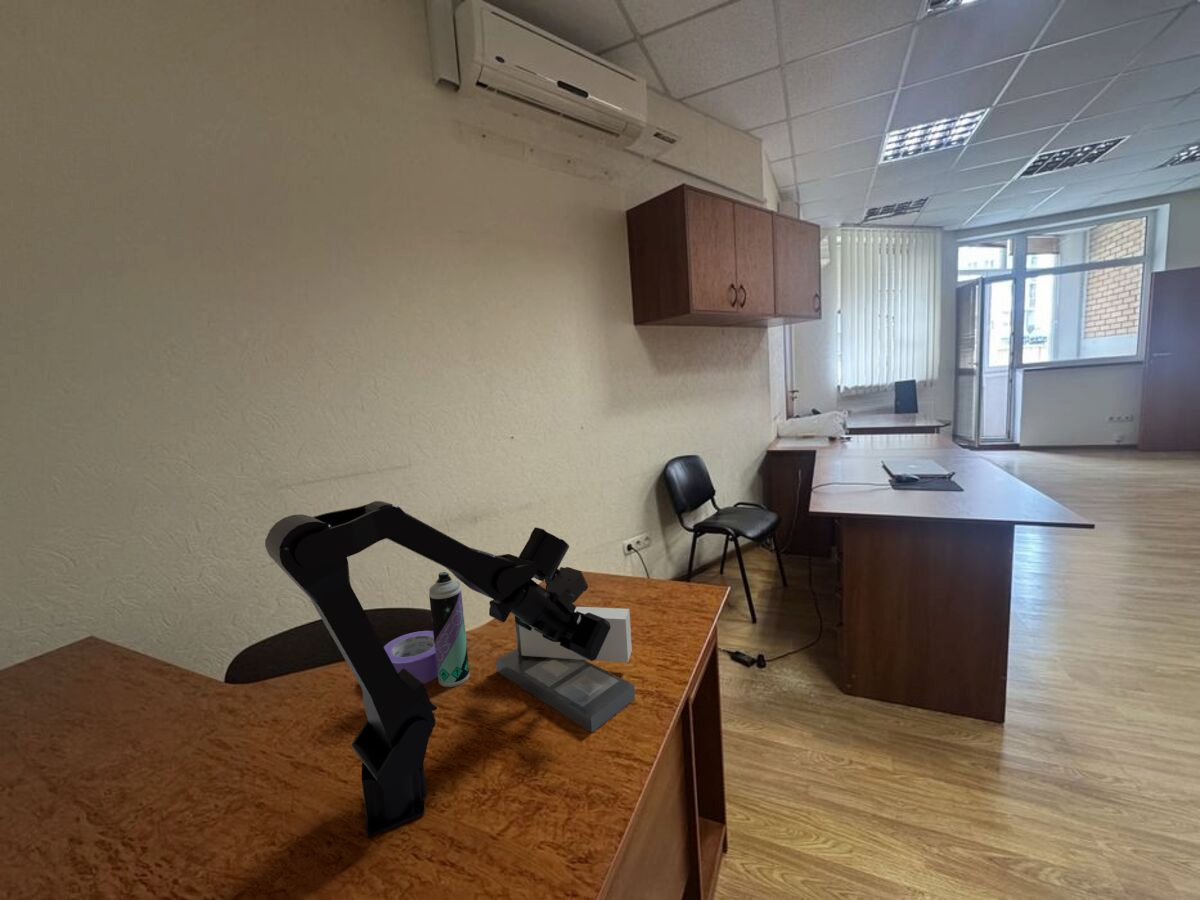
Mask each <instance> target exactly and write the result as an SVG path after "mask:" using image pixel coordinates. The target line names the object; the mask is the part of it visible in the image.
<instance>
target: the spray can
mask: <svg viewBox="0 0 1200 900" xmlns="http://www.w3.org/2000/svg"><path fill="white" fill-rule="evenodd" d="M428 590H429V593H428V595H429V596H428V597H429V604H430V605H429V606H430V614H431V624H432V631H433V635H434V644H435V653H436V662H437V671H438V677H437V679H438V680H437V681H438V684H439V685H440V686H441V687H445V688H452V687H457V686H460V685H462V684H463V683H465V682H466V681H468V680H469V678H470V675H471V674H470V664H469V655H468V645H467V636H466V634H467V633H466V624H465V616H464V615H465V613H464V605H463V604H464V603H463V595H462V587H461V583H460V582H459V581H456V580H454V579H453V578H452V577H451V576H450V574H449V572H445V571H443V572H439V573H438V578H437V579H436V581H435V583H433V585H431V586H430V587H429V588H428Z"/></svg>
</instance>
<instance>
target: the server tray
mask: <svg viewBox="0 0 1200 900" xmlns="http://www.w3.org/2000/svg"><path fill="white" fill-rule="evenodd" d="M495 663H496V665H495V666H496V671H497V673H498V674H500V675H501V676H503V677H504V678H506V679H508V680H509V681H511V682H512V683H514V684H515V685H517V686H518V687H520V688H521V689H523V690H524V691H526V692H528V693H529V694H531V695H532V696H534V697H536V698H537V699H539V700H540V701H541V702H543V703H544V704H546V705H548V706H550V707H551V708H553V709H554V710H556V711H557V712H559V713H561V715H563V716H565V717H566V718H568V719H569V720H571V721H573V722H575V724H578V725H579V726H581V727H582V728H584V729H586V731H588V732H590V733H591V734H592V733H594V732H596V731H597V730H598V729H599V728H601V726H603V725H604V724H606V722H608V721H609V720H610V719H612V718H613V717H614V716H616V715H617V714H618V713H619V712H620V711H622V710H623V709H624V708H626V707H627V706H628V705H630V704H631V703H632V702H633V701H635V699H636V695H635V694H636V692H635V684H633V683H631V682H629V681H628V680H625V679H623V678H622V677H619V676H618V675H615V674H613V673H611V672H609V671H608V670H606V669H603V668H601V667H599V666H597V665H595V664H593V663H591V662H590V661H588V660H581V659H566V658H552V657H537V656H522V654H520V653H518V649H517V648H514V649H512V650H511V651H509V652H507V653H505V654H503V655H502V656H500V657H497V658H496V659H495Z"/></svg>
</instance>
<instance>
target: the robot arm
mask: <svg viewBox="0 0 1200 900" xmlns="http://www.w3.org/2000/svg"><path fill="white" fill-rule="evenodd" d="M383 540H389V541H390V542H393V543H395V544H397V545H399V546H401V547H403V548H405V549H407V550H409V551H411V552H413V553H415V554H417V555H419V556H420V557H421V556H422V557H423V558H426V559H427V560H429V561H431V562H434V563H436V564H437V565H440V566H441V567H443V568H446V569H447V570H448V571H449V572H450V573H451V574H453V575H454V576H455V578H456V579H458V580H459V581H461V583H463V584H464V585H465V586H467V588H469V589H470V590H472V591H474V592H477V593H478V594H481V595H483V596H485V597H488V598H489V599H492V600H489V602H488V603H489V609H488V610H489V611H488V615H489V616H490V617H491V618H493V619H495V620H497V621H499V622H501V623H505V622H506V621H507V619H508V618H509V616H510V614H512V615H513V616H514V624H515V623H516V624H518V625H519V626H521V627H523V628H525V629H527V630H529V631H531V630H532V627H533V628H535V629H534V630H536V631H537V632H539V633H541V634H542V636H543V637H544V638H546V639H548V640H550V641H552V642H561V643H560V646H562V647H564V648H566V649H569V650H572V651H573V652H575V653H577V654H578V655H580V656H582V657H584V658H586V659H588V660H587V661H589V662H590V661H591V662H593V661H596V660H595V659H596V658H597V656H598V654H599V652H600V650H601V647H602V645H603V643H604V641H605V639H606V637H607V634H608V632H609V630H610V628H611V626H610V623H609V622H608V621H607V620H605V619H604V618H602V617H599V616H597V615H594V614H591V613H589V612H588V613H586V614H583V613H580V612H578V611H576V612H574V611H575V609H576V607H577V606H576V605H575V604H574V603H575V602H576V601H577V600H578V599H579V598H580V596H582V594H583V593H584V592H587V590H588V588H589V585H588V582H587V580H586V577H585V576H584V574H583V572H582V571H581V570H579V569H575V568H573V567H568V566H565V567H563V566H560V565H561V563H562V561H563V559H564V557H565V556H566V554H567V552H568V550H569V548H570V545H569V544H568V543H567V542H566V541H565V540H564V539H562V538H559V537H558V536H556V535H554V534H552V533H549V532H547V531H546V529H544V528H540V527H534V528H533V529H532V532H531V534H530V536H529V538H528V540H527V542H526V543H525V545H524V546H523V549H522V550H521V552H520V554H519V555H518V556H517V555H514V554H511V553H505V554H497V555H496V554H493V553H489V552H487V551H483V550H481V549H480V550H479V549H477V548H473V547H469V546H467V545H466V544H464V543H462V542H460V541H459V540H456V539H455V538H453V537H450V536H449V535H447V534H445V533H444V532H441V531H440V530H438V529H436V528H434V527H433V526H430V525H429V524H427V523H425V522H423V521H421V520H420V519H418V518H416V517H415V516H412V515H411V514H408V513H407V512H405V511H404V510H403V509H402V508H401V507H400V506H398V505H396V504H393V503H389V502H385V501H383V500H382V501H381V500H377V501H376V500H375V501H372V502H370V503H367V504H364V505H360V506H357V507H351V508H347V509H346V508H345V509H340V510H335V511H330V512H325V513H321V514H318V515H314V516H311V515H306V514H292V515H288V516H285V517H283V518H282V519H280V520H278V521H276V522H275V524H273V526H272V527H271V528H270V529H269V531H268V533H267V535H266V538H265V541H264V544H265V550H266V552H267V554H268V555H269V557H270V558H271V559H272V560H273V561H274V563H276V564H277V566H278V567H279V568H280V569H281V570H282V571H283V572H284V573H285V574H286V575H287V577H289V578H290V579H291V580H292V581H293V582H294V584H296V585H297V586H298V588H299V589H301V591H302V592H303V593H304V594H305V595H306V596H307V597H308V598H309V599H310V601H311V602H312V604H313V606H314V608H315V610H316V612H317V613H318V615H319V617H320V619H321V620H322V622H323V624H324V625H325V627H326V629H327V630H328V632H329V635H330V636H331V637H332V639H333V640H334V643H335V645H336V646H337V648H338V650H339V651H340V653H341V655H342V657H343V658H344V660H345V662H346V663H347V665H348V667H349V669H350V670H351V672H352V673H353V676H354V677H355V678H356V681H357V683H358V685H360V686H359V687H360V688H361V691H362V701H363V708H364V711H365V715H366V717H367V719H366V721H365V723H364V724H363V726H362V728H361V729H360V730H359V732H358V734H357V735H356V737H355V738H354V740H353V741H352V743H351V748H352V750H354V752H355V754H356V755H357V756H358V758H359V759H360V760H361V762H362V763H361V785H362V786H361V787H362V792H363V802H364V809H365V835H366V837H367V838H372V837H373V836H376V835H379V834H382V833H384V832H386V831H389V830H390V829H391V830H392V829H394V828H396V827H398V826H401V825H402V824H403V825H404V824H405V823H408V822H410V821H413V820H416V819H417V818H419V817H422V816H423V815H425V811H426V809H425V803H424V799H426V798H427V796H428V791H427V783H426V782H427V781H426V775H425V768H424V762H425V759H426V754H427V753H426V752H427V749H428V743H429V739H430V737H431V735H432V734H433V730H434V728H435V727H436V717H435V714H434V711H436V710H437V709H438V707H437V706H436V705H435V704H434V703H433V702H431V700H430V698H429V695H428V691H427V688H426V685H425V684H423V683H422V682H421V681H419V680H418V679H417V678H416V677H415V676H413V675H412V674H411V673H410V672H409V671H407V670H406V669H405V668H403V669H402V670H401V671H400V672H399V673H397V671H396V669H395V667H394V666H393V664H392V662H391V660H390V658H389V656H388V654H387V652H386V651H385V649H384V645H383V644H382V641H381V639H380V637H379V636H378V634H377V632H376V631H375V628H374V626H373V624H372V622H371V621H370V619H369V617H368V615H367V613H366V612H365V610H364V608H363V605H362V604H361V602H360V600H359V598H358V597H357V595H356V593H355V591H354V589H353V587H352V584H351V579H350V565H349V560H348V557H351V556H354V555H357V554H360V553H361V552H362V551H364V550H366V549H367V548H368V549H369V548H370V547H371V546H373V545H375V544H376V543H378V542H380V541H383ZM533 578H534V579H535V580H537V581H541V582H544V583H545V584H546V585H545V588H544V587H542V586H541V585H540V584H538V583H537V582H536V581H535V580H533ZM529 625H530V626H529ZM531 626H532V627H531Z"/></svg>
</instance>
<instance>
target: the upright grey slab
mask: <svg viewBox="0 0 1200 900" xmlns="http://www.w3.org/2000/svg"><path fill="white" fill-rule="evenodd" d="M576 611H578V612H580V613H583V614H586V613H588V612H589V613H591V614H594V615H597V616H599V617H602V618H604V619H605V620H607V621H608V622H609V623H610V626H611V628H610V630H609V632H608V634H607V637H606V639H605V641H604V643H603V645H602V647H601V650H600V652H599V654H598V656H597V658H596V659H595V660H594V661H599V662H611V663H612V662H613V663H627V664H628V663H629V661H630V658H631V655H632V654H631V653H632V651H633V648H632V631H631V615H630V608H619V607H618V608H616V607H597V606H596V607H595V606H594V607H593V606H576V609H575V611H574V612H576ZM514 626H515V634H516V638H515V639H516V645H517V646H516V649H518V653H520V654H522V656H537V657H552V658H566V659H581V660H585V661H589V660H588V659H586V658H584V657H582V656H580V655H578V654H577V653H575V652H573V651H572V650H569V649H566V648H564V647H562V646H560V643H561V642H552V641H550V640H548V639H546V638H544V637H543V636H542V634H541V633H539V632H537V631H536V630H534V629H535V628H533V627H532V626H531V627H532V630H531V631H529V630H527V629H525V628H523V627H521V626H519V625H518V624H516V623H515V622H514ZM529 626H530V625H529Z"/></svg>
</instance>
